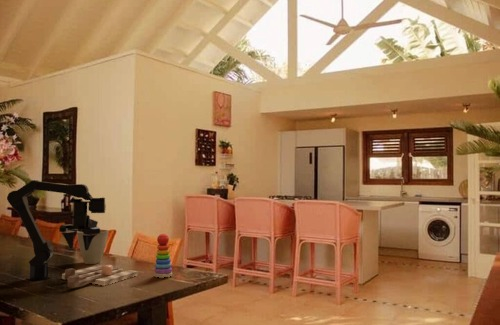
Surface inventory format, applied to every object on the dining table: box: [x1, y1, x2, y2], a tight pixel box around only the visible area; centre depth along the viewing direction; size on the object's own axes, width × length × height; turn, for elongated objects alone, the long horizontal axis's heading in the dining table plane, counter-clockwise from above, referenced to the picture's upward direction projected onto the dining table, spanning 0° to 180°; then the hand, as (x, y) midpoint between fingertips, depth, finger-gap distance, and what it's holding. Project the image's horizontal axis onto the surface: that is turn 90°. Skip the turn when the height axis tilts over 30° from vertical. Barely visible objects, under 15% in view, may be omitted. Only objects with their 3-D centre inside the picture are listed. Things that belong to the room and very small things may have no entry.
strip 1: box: [64, 267, 102, 280], centre depth 184 cm, size 22×3×4 cm, turn 154°
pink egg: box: [101, 264, 114, 275], centre depth 179 cm, size 4×4×4 cm
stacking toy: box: [153, 233, 173, 279], centre depth 187 cm, size 8×8×19 cm
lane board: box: [61, 265, 139, 287], centre depth 182 cm, size 22×24×2 cm
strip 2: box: [67, 273, 115, 289], centre depth 172 cm, size 22×3×4 cm, turn 154°
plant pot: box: [76, 229, 109, 265], centre depth 212 cm, size 15×15×16 cm
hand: (78, 249), depth 182 cm, fingers open, 9 cm apart
